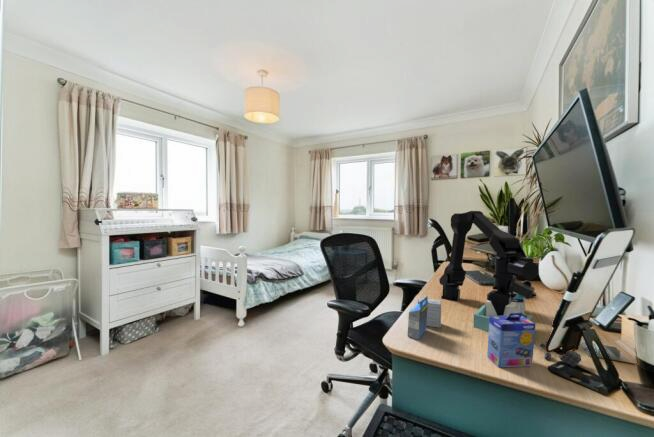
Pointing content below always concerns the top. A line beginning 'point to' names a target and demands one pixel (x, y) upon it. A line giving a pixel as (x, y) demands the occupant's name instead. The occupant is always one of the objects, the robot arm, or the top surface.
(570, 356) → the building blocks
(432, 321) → the medicine box
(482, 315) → the box
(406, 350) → the top surface
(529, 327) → the ink cartridge box
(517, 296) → the light bulb box
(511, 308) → the small crate
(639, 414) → the top surface
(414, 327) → the label tape box
